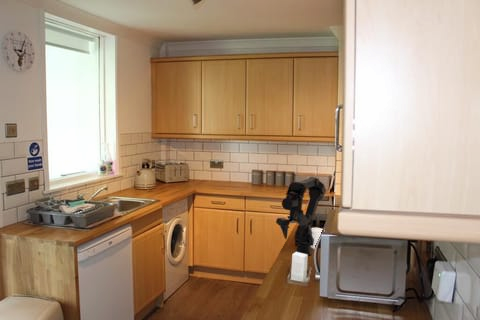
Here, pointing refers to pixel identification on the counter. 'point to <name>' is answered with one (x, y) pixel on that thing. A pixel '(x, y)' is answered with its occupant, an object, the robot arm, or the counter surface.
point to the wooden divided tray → (300, 281)
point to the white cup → (315, 235)
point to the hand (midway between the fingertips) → (293, 237)
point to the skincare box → (299, 266)
